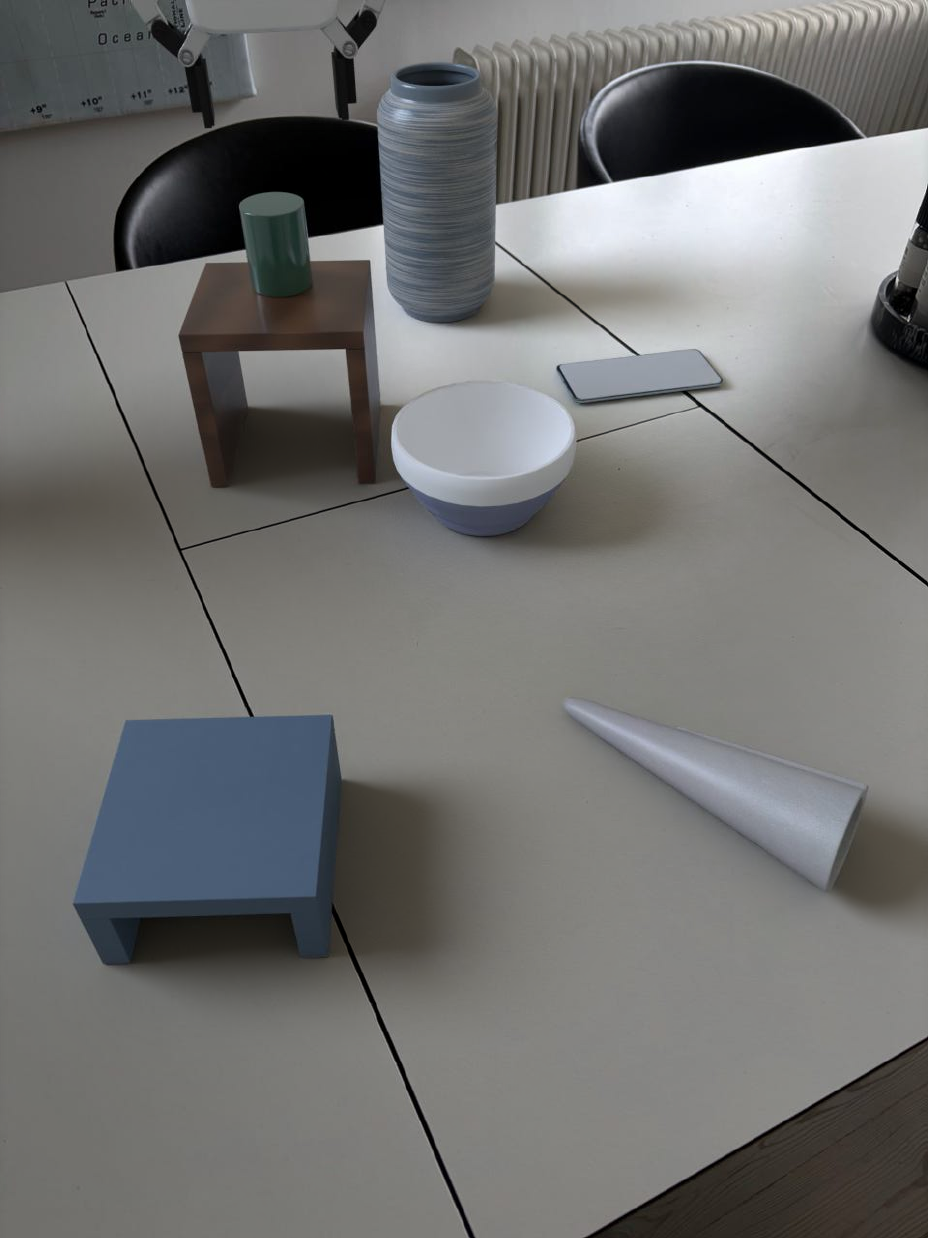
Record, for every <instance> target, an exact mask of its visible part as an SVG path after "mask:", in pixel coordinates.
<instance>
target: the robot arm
mask: <svg viewBox="0 0 928 1238" xmlns="http://www.w3.org/2000/svg"><path fill="white" fill-rule="evenodd" d="M158 1H159V0H129V2H130V4H131V6H132V7H133V9H134V10H135V11H136V13H137V14H138V16H139V17H140V19H141V21H142V22H143V24H144V25H145V26H146V27H147V29H148V30H149V32H150V33H151V36H152V38H153V39H154V40H156V42H158V43H159V44H160V45H161V46H162V47H163V48H164V49H165V50H167V51H168V52H169V53H170V54H171V55H172V56H174V57H175V58H176V59H177V60H178V62H179V64H181V65H182V66H183V67H184V71H185V77H186V78H185V79H186V83H187V89H188V95H189V100H190V106H191V111H192V113H193V114H197V113H199V114H200V113H201V116H202V122H203V126H204V129H212V128H213V127H215V123H216V122H215V119H216V118H215V108H214V102H213V96H212V90H211V84H210V78H209V77H210V76H209V71H208V65H207V64H208V63H207V59H206V58H203V55H202V54H203V53H202V52H203V50H204V48H205V47H206V46H207V44H208V42H209V40H210V38H211V37H212V35H244V34H263V33H265V34H267V33H268V34H269V33H284V32H286V33H287V32H302V31H304V32H305V31H314V30H320V31H321V32H322V33H323V34H324V35H325V37H326V39H328V40H329V41H330V42H331V43H332V45H333V51H330V52H331V53H330V55H331V56H330V57H331V66H332V68H331V69H332V79H333V92H334V102H335V103H334V104H335V109H336V113H337V117H338V119H341V121H349V120H350V114H349V113H350V111H349V105H353V104H357V101H358V100H357V86H356V73H355V71H356V70H355V57H356V56H357V55H358V53H359V49H360V48H361V47H362V46H363V45H364V43H365V42H366V41H367V39H368V38H369V37H370V36H371V34H372V33H373V31H374V30H375V29H376V27H377V25H378V20H379V17H380V15H381V13H382V11H383V8H384V5H385V3H386V1H387V0H362V3H361V6H360V8H359V10H357V12H356V13H355V15H354V16H353V17H352V19H351V20H350V21H349V22H348V24H347V25H346V24H345V23H344V22H343V21H342V20H341V18H340V17H339V16H338V9H339V4H338V3H339V0H184V1H185V6H186V10H187V13H188V17H189V20H190V23H189V24H188V27H187V28H186V30H185V31H184V33H183V32H182V31H181V30H180V29H178V27H176V26H175V25H174V24H173V23H172V22H170V20H169V19H167V18H166V17H165V15H164V14H163V12H162V10H161V8H160V7H159V5H158Z"/></svg>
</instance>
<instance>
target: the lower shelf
mask: <svg viewBox="0 0 928 1238" xmlns="http://www.w3.org/2000/svg"><path fill="white" fill-rule="evenodd" d="M119 737H120V738H119V741H118V744H117V748H116V752H115V756H114V758H113V761H112V766H111V769H110V772H109V776H108V779H107V783H106V786H105V790H104V793H103V795H102V800H101V803H100V806H99V811H98V814H97V817H96V820H95V824H94V828H93V831H92V834H91V838H90V842H89V845H88V849H87V852H86V855H85V858H84V861H83V862H84V863H83V866H82V869H81V873H80V875H79V880H78V883H77V886H76V890H75V893H74V896H73V900H72V905H73V908H74V910H75V912H76V914H77V915H78V918H79V920H80V921H81V924H82V926H83V928H84V929H85V931H86V934H87V936H88V937H89V940H90V941H91V943H92V945H93V947H94V949H95V952H96V953H97V955H98V957H99V959H100V962H101V963H102V964H103V965H112V964H117V965H118V964H131V962H132V959H133V955H134V951H135V945H136V941H137V938H138V933H139V928H140V925H141V920H142V918H168V917H169V918H170V917H200V916H201V917H202V916H204V917H205V916H237V915H241V916H242V915H269V914H272V915H273V914H290V919H291V922H292V927H293V930H294V936H295V939H296V944H297V949H298V952H299V956H300V958H302V959H306V958H328V957H329V954H330V953H329V952H330V942H331V941H330V939H331V926H332V913H333V901H334V899H333V898H334V886H335V875H336V874H335V873H336V872H335V871H336V861H337V848H338V847H337V845H338V831H339V820H340V808H341V807H340V806H341V796H342V795H341V794H342V781H343V780H342V779H343V778H342V770H341V764H340V757H339V751H338V744H337V737H336V729H335V722H334V716H333V714H309V715H307V714H306V715H271V716H270V715H267V716H236V717H235V716H233V717H231V716H230V717H197V718H195V717H191V718H190V717H189V718H157V719H156V718H155V719H153V718H152V719H151V718H150V719H125V720H124V723H123V727H122V731H121V734H120V736H119Z"/></svg>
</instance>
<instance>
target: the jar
mask: <svg viewBox="0 0 928 1238" xmlns="http://www.w3.org/2000/svg"><path fill="white" fill-rule="evenodd" d="M238 208H239V209H238V210H239V216H240V222H241V229H242V234H243V241H244V242H243V243H244V248H245V255H246V260H247V262H248V267H249V274H250V280H251V286H252V289H253V290H254V291H255V292H256V293H258V294H260V295H263V296H268V297H288V296H293V295H297V294H300V293H303V292H305V291H306V290H308V289H309V288H310V287H311V286H312V284H313V276H312V267H311V261H312V259H311V251H310V243H309V233H308V225H307V216H306V207H305V201H304V199H303V198H302V197H301V196H299V195H298V194H294V193H290V192H283V191H269V192H261V193H257V194H253V195H251V196H248V197H246V198H244V199H243V200H242V201H240V203H239V205H238Z"/></svg>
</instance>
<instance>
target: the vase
mask: <svg viewBox="0 0 928 1238" xmlns="http://www.w3.org/2000/svg"><path fill="white" fill-rule="evenodd" d="M389 80H390V88H389V89H387V90H386V91H385V92H384V94H383V95H382V97H381V99H380V101H379V103H378V105H377V110H376V122H377V123H376V125H377V139H378V157H379V158H378V159H379V173H380V188H381V189H380V191H381V205H382V206H381V208H382V222H383V240H384V241H383V242H384V256H385V257H384V258H385V272H386V274H385V275H386V286H387V290H388V292H389V293H390V295H391V297H392V298H393V299H394V300H395V302H396V303H397V304H398V305H399V306H401V308H402V310H403V311H404V312H405V314H407V315H408V316H410V317H412V318H413V319H415V320H419V321H423V322H427V323H437V324H438V323H452V322H453V323H454V322H458V321H462V320H465V319H468V318H470V317H472V316H473V315H475V314H476V313H477V312H478V311H479V310H480V308H481V306H482V305H483V304H484V303H485V302H486V301H487V299H489V297H490V295H491V294H492V292H493V290H494V287H495V286H494V285H495V278H496V276H495V275H496V273H495V272H496V225H497V223H496V222H497V212H496V211H497V161H498V160H497V159H498V158H497V157H498V108H497V105H496V102H495V99H494V98H493V96H492V95H491V93H490V92H489V90H487V88H485V87H484V86H483V75H482V72H481V71H480V70H478V68H475V67H473V66H470V65H467V64H462V63H456V62H444V61H443V62H442V61H431V62H428V61H427V62H419V63H413V64H407V65H405V66H401V67H399V68H397V69H395V70H394V71H393V72H392V73H391V75H390V79H389Z"/></svg>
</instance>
